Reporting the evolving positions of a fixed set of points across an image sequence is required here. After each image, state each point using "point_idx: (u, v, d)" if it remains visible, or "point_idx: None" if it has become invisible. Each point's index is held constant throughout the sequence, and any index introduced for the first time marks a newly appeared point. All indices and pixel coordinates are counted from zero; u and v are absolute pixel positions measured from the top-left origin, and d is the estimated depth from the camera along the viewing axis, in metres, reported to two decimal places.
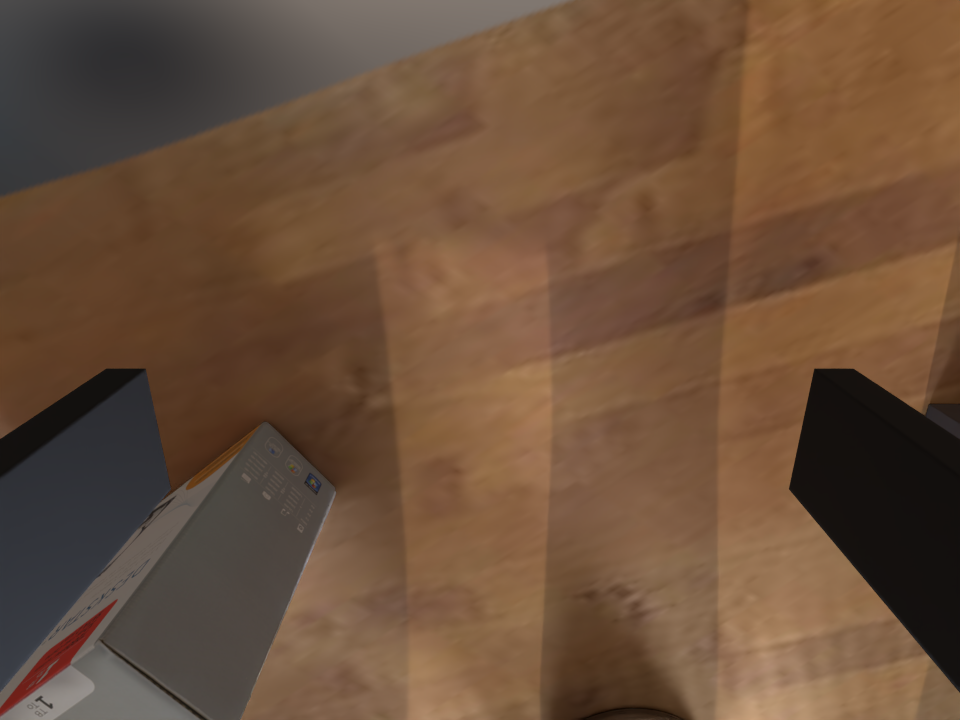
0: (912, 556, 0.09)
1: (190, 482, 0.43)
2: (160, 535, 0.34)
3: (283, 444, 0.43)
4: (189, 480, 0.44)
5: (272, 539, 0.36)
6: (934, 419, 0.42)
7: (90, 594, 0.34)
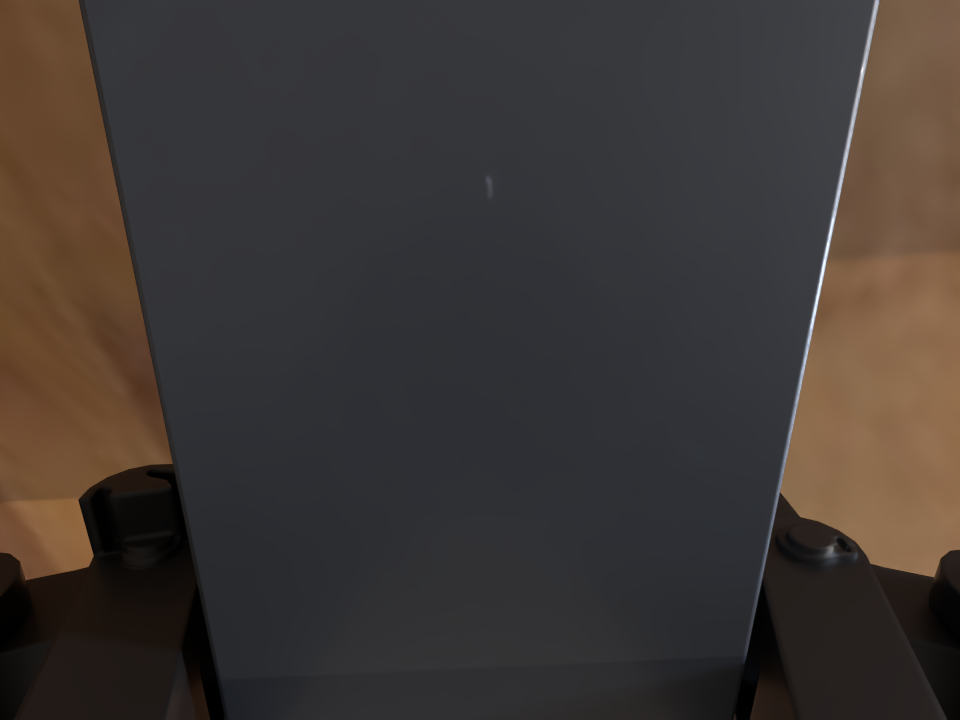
0: None
1: None
2: None
3: None
4: None
5: None
6: None
7: None
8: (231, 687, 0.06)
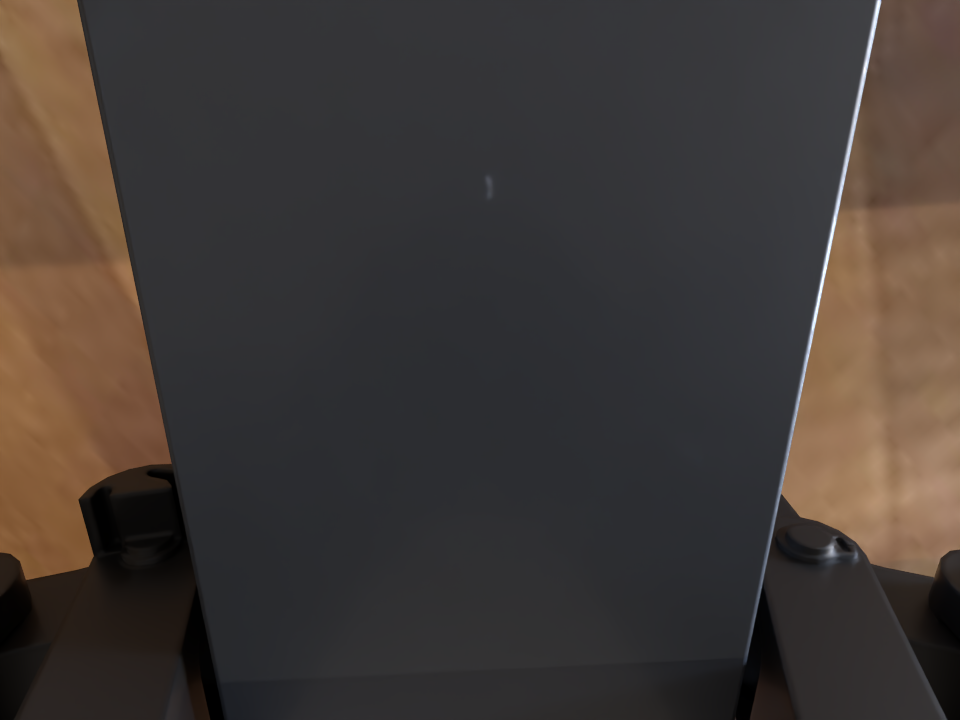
0: None
1: None
2: None
3: None
4: None
5: None
6: None
7: None
8: (230, 687, 0.06)
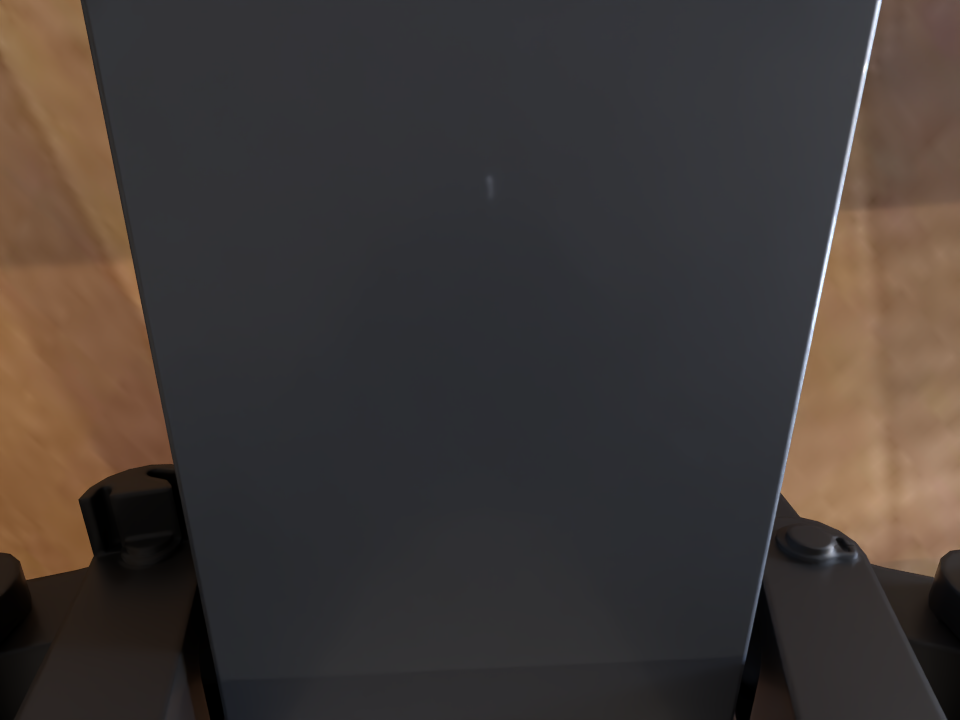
0: None
1: None
2: None
3: None
4: None
5: None
6: None
7: None
8: (230, 684, 0.06)
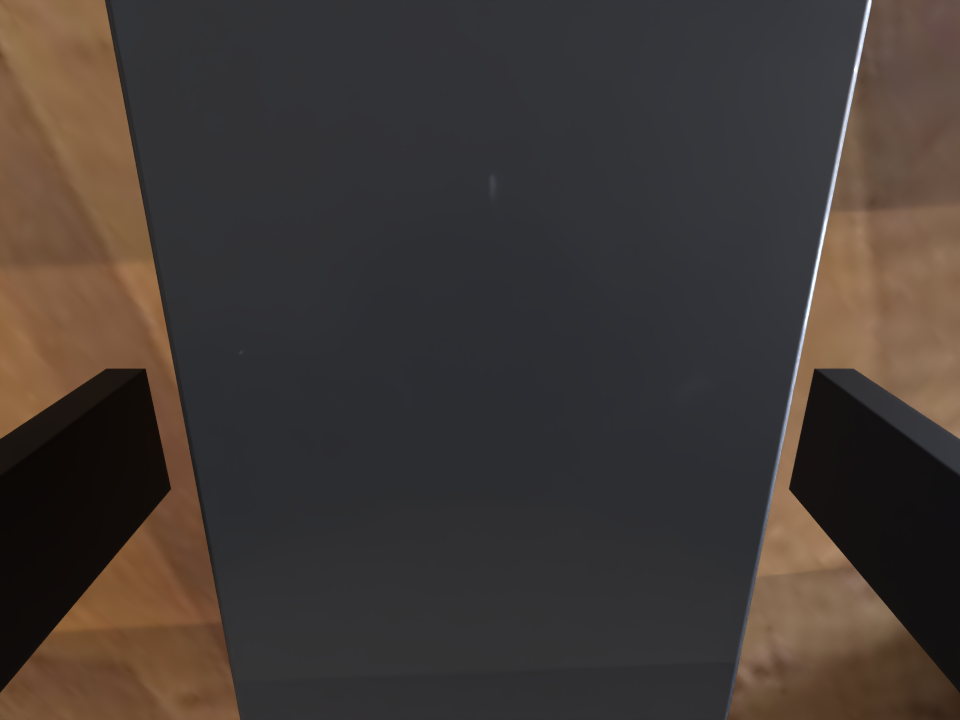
0: (912, 556, 0.09)
1: None
2: None
3: None
4: None
5: None
6: None
7: None
8: (243, 667, 0.06)
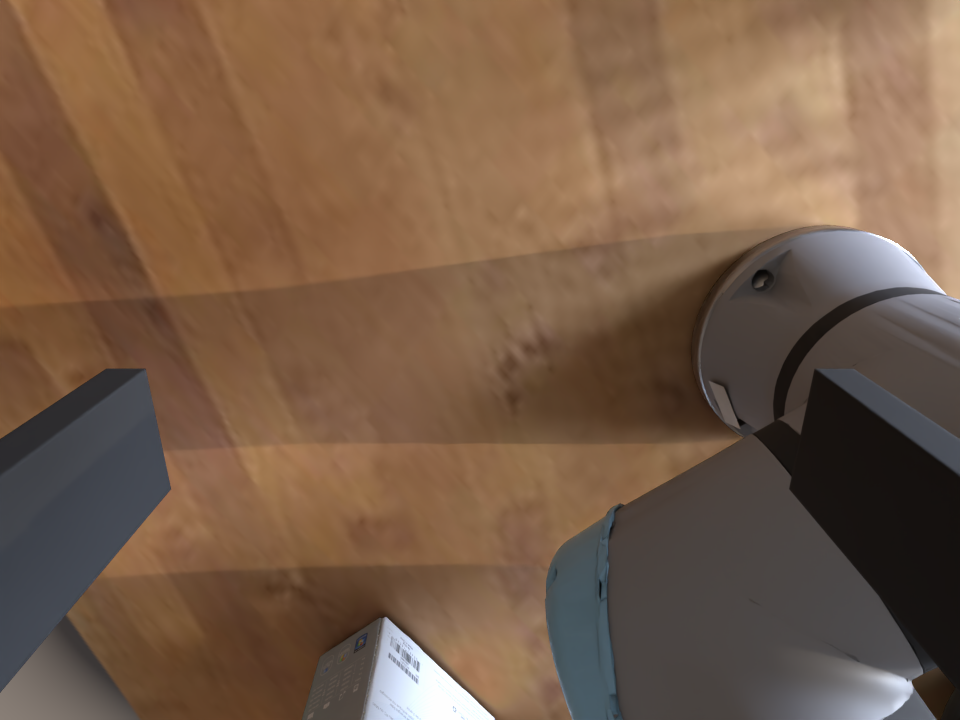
0: (912, 556, 0.09)
1: None
2: None
3: (333, 652, 0.51)
4: None
5: None
6: None
7: None
8: None
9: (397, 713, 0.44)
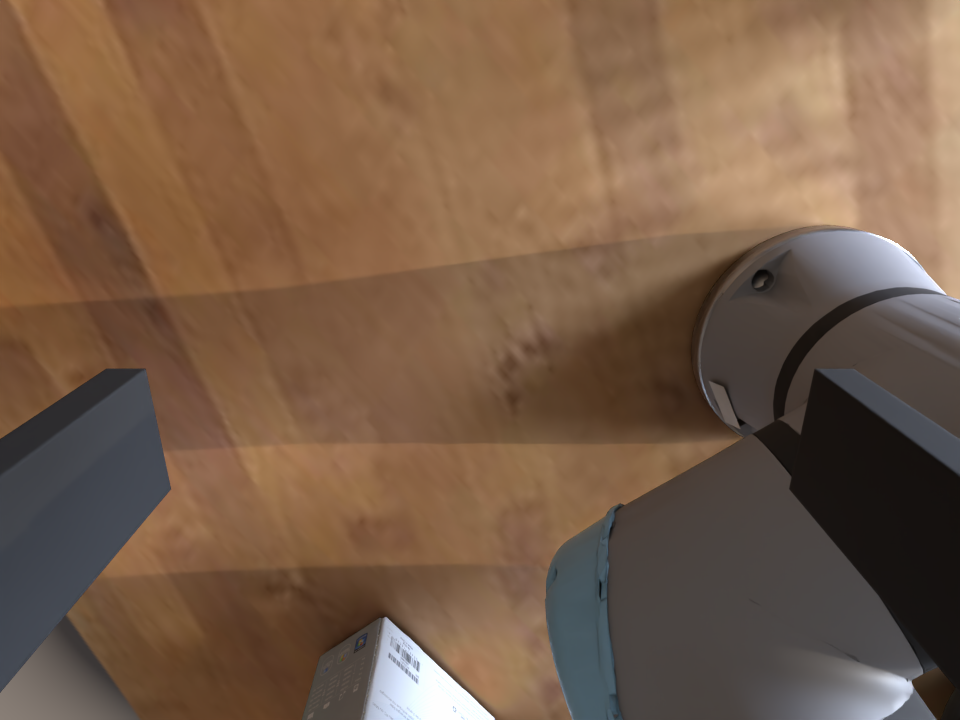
0: (912, 556, 0.09)
1: None
2: None
3: (333, 652, 0.51)
4: None
5: None
6: None
7: None
8: None
9: (397, 713, 0.44)
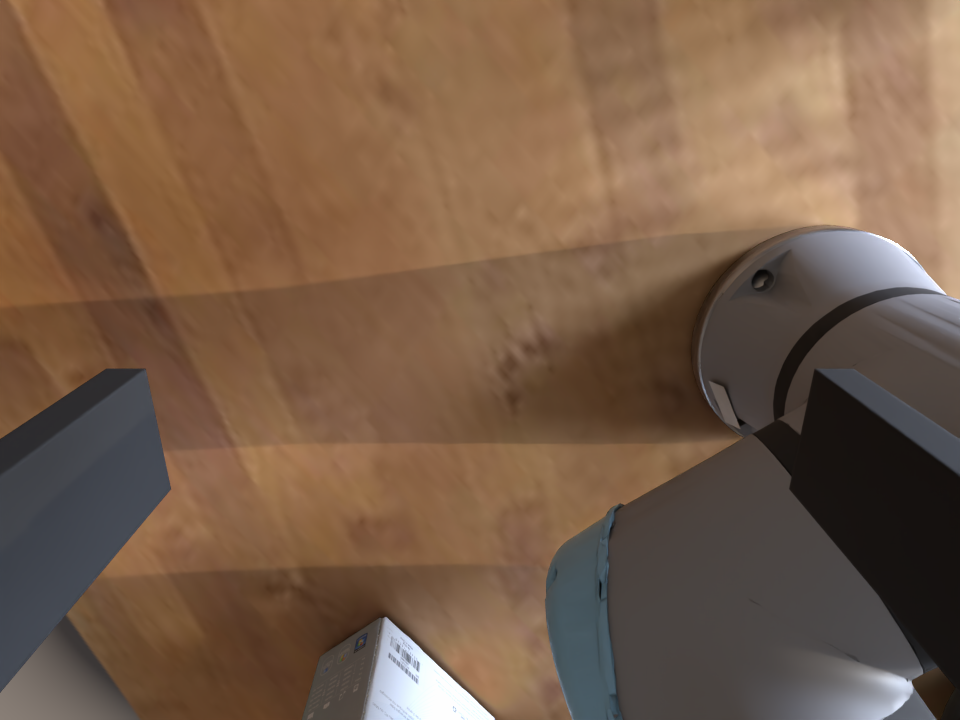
0: (912, 556, 0.09)
1: None
2: None
3: (333, 652, 0.51)
4: None
5: None
6: None
7: None
8: None
9: (397, 713, 0.44)
